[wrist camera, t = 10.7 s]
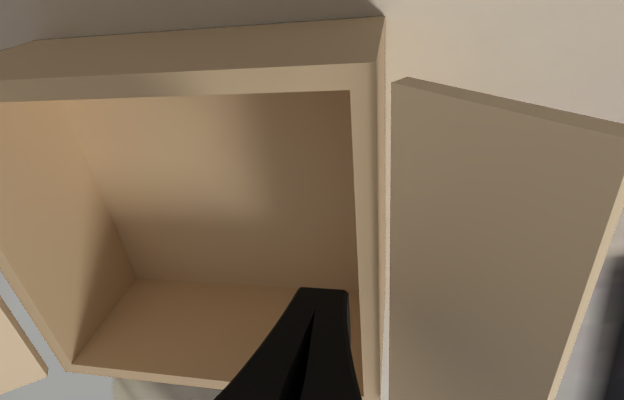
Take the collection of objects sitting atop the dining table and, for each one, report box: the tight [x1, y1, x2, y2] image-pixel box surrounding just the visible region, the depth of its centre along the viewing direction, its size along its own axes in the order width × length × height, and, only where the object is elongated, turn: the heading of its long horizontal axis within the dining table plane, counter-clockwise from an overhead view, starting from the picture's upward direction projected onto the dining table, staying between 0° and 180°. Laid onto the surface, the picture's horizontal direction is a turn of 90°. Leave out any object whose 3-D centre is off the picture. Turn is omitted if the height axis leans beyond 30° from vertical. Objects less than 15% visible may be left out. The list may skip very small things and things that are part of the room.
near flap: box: [389, 77, 624, 400], centre depth 11 cm, size 12×4×1 cm
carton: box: [0, 16, 385, 400], centre depth 16 cm, size 13×14×6 cm
